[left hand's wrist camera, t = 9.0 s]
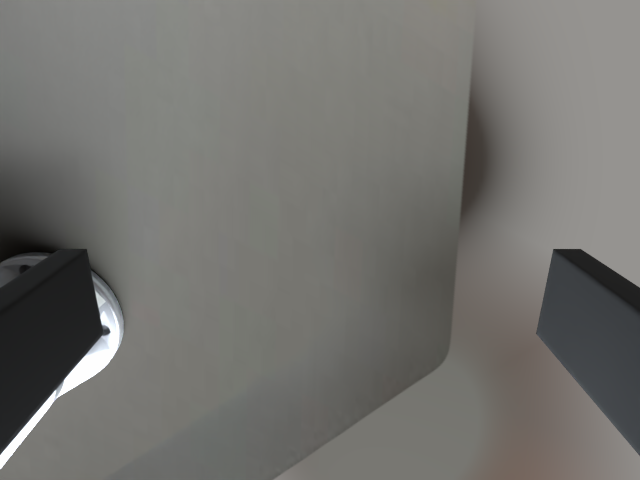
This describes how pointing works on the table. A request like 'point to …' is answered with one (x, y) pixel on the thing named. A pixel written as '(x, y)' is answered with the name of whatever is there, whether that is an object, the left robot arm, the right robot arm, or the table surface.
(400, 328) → the table surface
